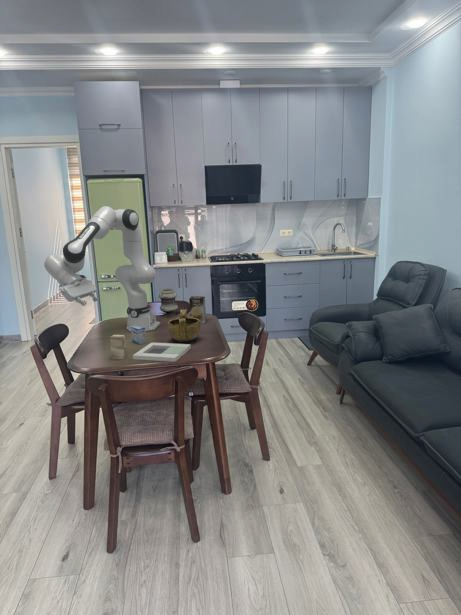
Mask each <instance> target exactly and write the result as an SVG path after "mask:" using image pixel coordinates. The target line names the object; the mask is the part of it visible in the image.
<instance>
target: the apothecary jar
mask: <svg viewBox="0 0 461 615" xmlns="http://www.w3.org/2000/svg"><path fill="white" fill-rule="evenodd" d="M176 297H177V293H176V292H175V290H174V288H163V289H161V291H160V293H159V294H158V298H159V299H160V303H161V304H160V306H159V311H161V312H163V313H164V314H162V315H161V317H162V318H173V317H176V316H177V314H176V313H175V311H177V310H178V309H179V306H178V305H177V303H176Z"/></svg>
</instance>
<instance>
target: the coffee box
mask: <svg viewBox="0 0 461 615" xmlns="http://www.w3.org/2000/svg"><path fill="white" fill-rule="evenodd" d="M188 300H189V316H190V317H189V318H197V319H199V322H200V324H205V323H206V321H207V316H206V315H207V310H206V296H201V295H200V296H190V297H189V299H188Z"/></svg>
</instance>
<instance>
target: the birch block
mask: <svg viewBox="0 0 461 615" xmlns="http://www.w3.org/2000/svg"><path fill="white" fill-rule="evenodd" d="M109 344H110V346H109V347H110V355H111V359H112V360H124V359H126V358H127V357H128V354H127V344H126V334H113V335H111V336H109Z"/></svg>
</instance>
